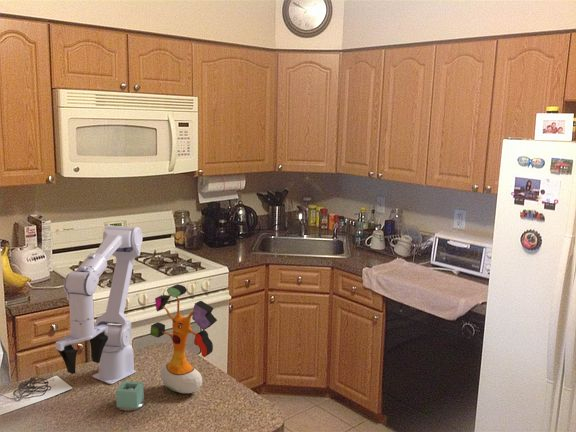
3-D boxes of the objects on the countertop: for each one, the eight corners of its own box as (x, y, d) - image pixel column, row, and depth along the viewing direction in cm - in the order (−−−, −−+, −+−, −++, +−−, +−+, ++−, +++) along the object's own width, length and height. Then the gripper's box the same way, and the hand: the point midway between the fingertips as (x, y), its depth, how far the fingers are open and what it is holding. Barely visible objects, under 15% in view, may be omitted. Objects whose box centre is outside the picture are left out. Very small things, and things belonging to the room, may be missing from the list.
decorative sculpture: (222, 393, 152) (222, 288, 147) (206, 406, 145) (206, 297, 139) (163, 377, 160) (161, 277, 155) (145, 389, 153) (143, 285, 148)
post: (131, 395, 150) (131, 379, 149) (150, 402, 146) (149, 387, 145) (111, 406, 144) (110, 390, 143) (129, 414, 140) (129, 397, 139)
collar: (124, 396, 147) (123, 380, 147) (143, 397, 147) (143, 382, 146) (116, 407, 142) (116, 390, 141) (137, 408, 142) (136, 392, 141)
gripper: (95, 306, 149) (96, 353, 152) (46, 322, 137) (49, 373, 140) (112, 311, 146) (114, 360, 148) (64, 328, 133) (67, 381, 136)
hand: (84, 367), depth 143 cm, fingers open, 7 cm apart
